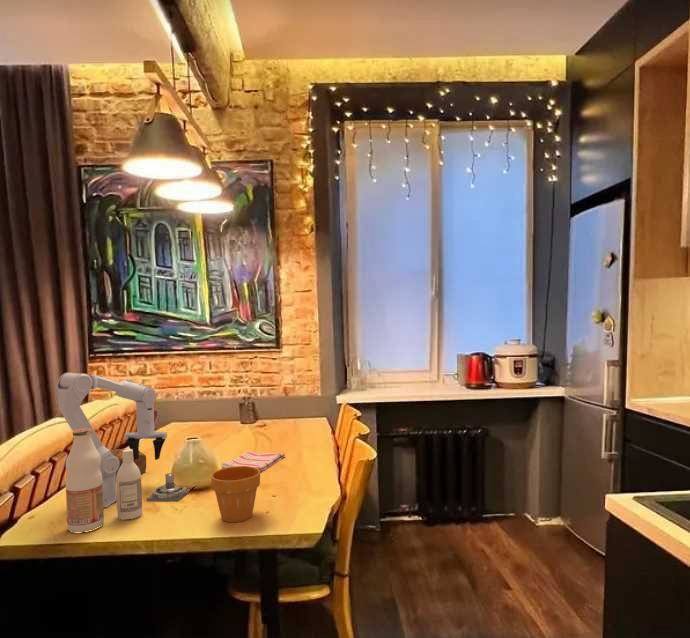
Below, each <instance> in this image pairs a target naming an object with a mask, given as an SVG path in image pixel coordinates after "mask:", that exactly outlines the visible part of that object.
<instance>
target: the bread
mask: <svg viewBox="0 0 690 638" xmlns="http://www.w3.org/2000/svg"><path fill="white" fill-rule="evenodd" d="M126 449H127V448H121V449H120V448H118V449H113V448H112V449H108V450H109V451H110V452H111V453H112V454H113V455H114V456H116V457H117V458H118V459H119V468H120V467H121V465H122V463H123V454H122V451H123V450H126ZM133 462H134V463H135V464H136V465H137V467H138V468H139V470H140V473H141V475H143V474H145V473H146V470H147V455H146V454H145V453H143V452H141V450H139V458H138V459H137V460H134V457H133ZM119 468H118V470H119ZM118 470H117V471H116V474H115V476H117V472H118Z"/></svg>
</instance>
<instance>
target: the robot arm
mask: <svg viewBox="0 0 690 638" xmlns="http://www.w3.org/2000/svg"><path fill="white" fill-rule="evenodd" d="M58 378H59V379H58V381H57V383H56V384H55V388H56V390H57V397H58V398H57V399H58V402H57V403H58V404H57V406H58V407H57V408H58V409H59V411H60V414H61V415H62V416H63V418H64V419H65V421H66V423H67V424H68V426H69V428H70V429H71V431H72V432H73V431H75V430H79V429H92V435H91V438H92V441H93V443H94V445H95V447H96V449H97V451H98V452H99V453H100V456H101V464H100V471H101V473H102V480H103V508H108V507H110V506H111V505H113V504H114V503H115V502H117V492H116V476H115V474H116V471H117V470H118V468H119V459H118V458H117V457H116V456H114V455H113V454H112V453H111V452H110V451H109V450H110V449H108V448H107V446H105V445H104V444H103V443H102V441H101V439H100V437H99V436H98V434H97V433H96V431H95V429H94V428H93V426H92V425H91V424H92V423H91V422H90V420H88V417H87V416H86V414H85V413H84V410H83V409H82V407H81V404H82V402H83V400H84V399H85V398H86V396H87V395H88V394H89V393H90V391H91V390H95V389H97V388H98V389H102V390H105V391H106V390H107V391H111V392H115V395H116V397H118V398H122V399H127V400H130V401H133V402H135V407H136V409H135V410H136V432H125V433H124V440H127V441H126V445H127V446H128V447H129V449H132V450H133V457H134V460H137V459H138V458H139V451H140V448H139V447H140V440H141V439H142V440H143V439H144V440H145V439H153V440H152V444H153V449H154V460H156V461H157V460H159V459H160V458H161V452H162V450H163V449H162V448H163V446H164V443H165V441H166V440H167V438H168V432H166V431H155V411H154V410H155V408H154V407H155V402H156V400H157V397H158V394H157V393H156V391H155V389H154V388H153V387H151V386H144V384H143V383H136V382H135V383H134V382H132V379H126V380H124V379H123V380H121V381H119V382H118V381H115V380H111V379H109V378H105V377H103V376H99V375H96V374H88V373H75V372H64V373H63V374H61V376H60V377H58Z"/></svg>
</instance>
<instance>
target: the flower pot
mask: <svg viewBox="0 0 690 638" xmlns="http://www.w3.org/2000/svg"><path fill="white" fill-rule="evenodd" d="M210 479H211V481H210V484H211V489H212V491H213V492H214V493H215V497H216V501H217V504H218V505H217V506H218V510H219V513H220V517H221V520H223V521H225V522H227V523H240V522H245V521H247V520H249V519H251V518H252V516H253V512H254V507H255V504H256V503H255V501H256V496H257V491H258V487H259V486H260V485H261V472H260V470H259V469H257V468H254V467H249V466H235V467H228V468H223V469H222V468H220V469H218V470H215V471H214V472H212V473H211V475H210Z"/></svg>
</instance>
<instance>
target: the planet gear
mask: <svg viewBox="0 0 690 638" xmlns="http://www.w3.org/2000/svg"><path fill="white" fill-rule="evenodd" d="M173 473H174V472H169V473H168V472H167V473H166V474H165V477H164V478H165V484H166V486H164V487H162V488H160V489H159V493H160V494H169V493H174V492H178V491H180V490H181V487H180V486H178V485H175V483H174V479H175V473H174V474H173Z"/></svg>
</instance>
